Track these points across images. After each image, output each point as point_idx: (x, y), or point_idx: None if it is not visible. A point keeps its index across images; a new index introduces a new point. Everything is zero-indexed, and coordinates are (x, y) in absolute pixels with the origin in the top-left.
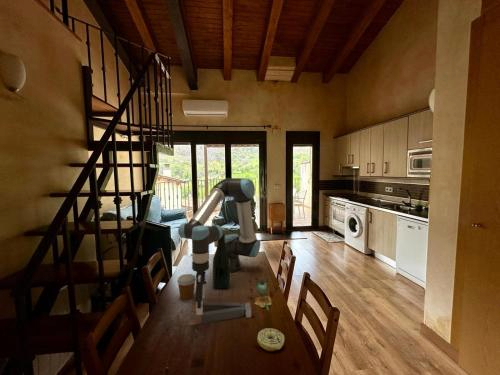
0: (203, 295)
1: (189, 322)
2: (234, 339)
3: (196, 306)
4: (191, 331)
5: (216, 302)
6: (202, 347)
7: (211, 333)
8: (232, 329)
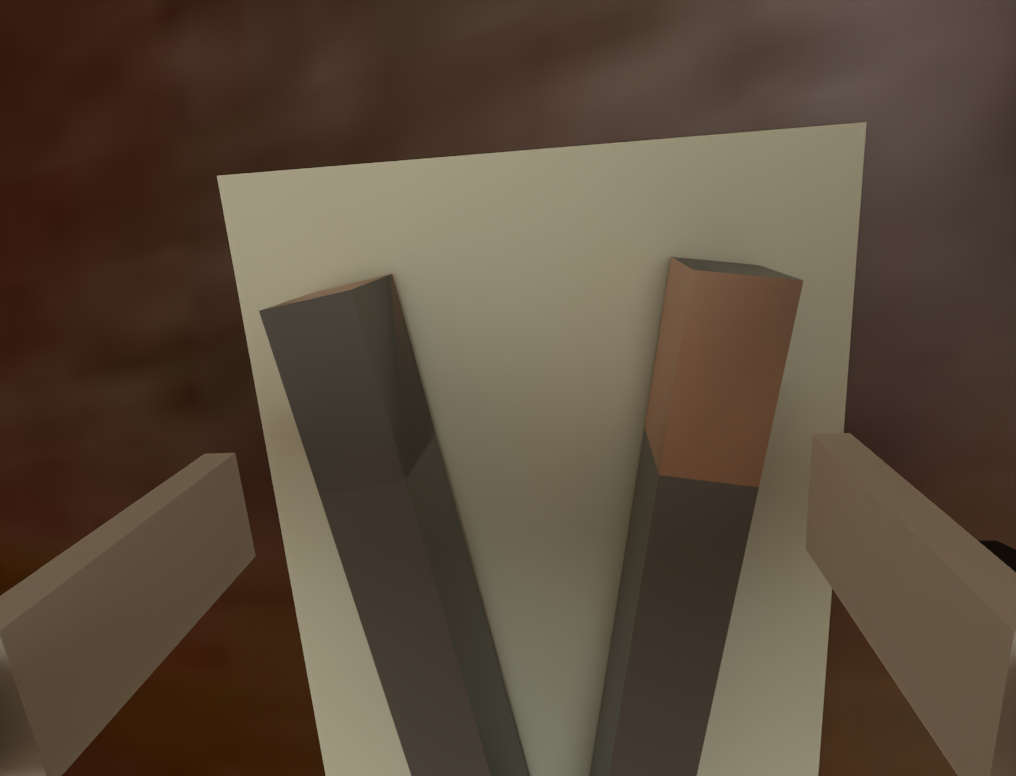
0: (831, 551)
1: (297, 298)
2: (187, 766)
3: (92, 541)
4: None
5: (702, 705)
6: (37, 486)
7: None
8: None
